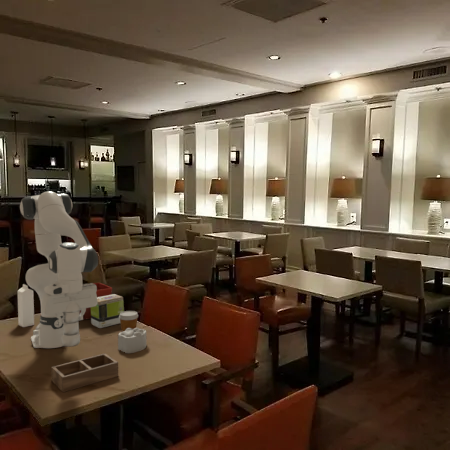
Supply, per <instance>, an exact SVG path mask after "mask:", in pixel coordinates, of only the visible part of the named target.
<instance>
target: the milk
mask: <svg viewBox="0 0 450 450" xmlns="http://www.w3.org/2000/svg"><path fill="white" fill-rule="evenodd" d="M34 301H35V300H34V289H31V288H29V285H28V284H25V283H23V284H22V287H20V288H19V289H18V290H17V312H18V313H17V315H18V317H17V319H18V326H20V327H22V328H26V327H30V326H34V325H35V307H34V306H35V305H34V303H35V302H34Z"/></svg>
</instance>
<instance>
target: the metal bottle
mask: <svg viewBox="0 0 450 450" xmlns="http://www.w3.org/2000/svg"><path fill="white" fill-rule="evenodd" d="M75 299H76V298H75V296H72V297H69V300H70V301H72V300H75ZM79 313H80V307H79V305H78V304H77V303H76V302H71V303H70V304H69V305H68V306H67V308H66V311H65V312H62V314H63V319H64V327H63V335H62V344H63V345H64V346H63V347H68V348H70V347H71V348H72V347H76V346H78V345H79V344H80V342H81V334H80V325H79V323H80V322H79V321H80V320H79Z"/></svg>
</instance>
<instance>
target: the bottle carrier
mask: <svg viewBox="0 0 450 450" xmlns="http://www.w3.org/2000/svg"><path fill="white" fill-rule="evenodd" d="M116 377H119V361H117V360H116V359H114V358H113V357H111V356H110V355H109V354H107V353H101V354H97V355H93V356H88V357H85V358H81V359H78V360H75V361H74V360H73V361H70V362H66V363H63V364H62V363H61V364H58V365H53V366H51V382H52V383H53V384H54V385H55V386H56V387H57V388H58V389H59V390H60V391H61V392H63V393H66V392H69V391H72V390H76V389H79V388H83V387H86V386H90V385H92V384H96V383H99V382H102V381H106V380H109V379H113V378H116Z"/></svg>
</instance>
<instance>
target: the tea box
mask: <svg viewBox="0 0 450 450" xmlns="http://www.w3.org/2000/svg"><path fill="white" fill-rule="evenodd" d="M124 303H125V302H124V297H123V296H122V295H118V294H115V293H111V295H106V296H101V297H97V305H96V306H94V307H91V318H90V323H91V325H93V326H94V327H96V328H99V329H102V328H106V327H110V326H115V325H118V324H121V323H120V318H119V315H120V313H121V312H124V311H125V307H124V305H125V304H124Z"/></svg>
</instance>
